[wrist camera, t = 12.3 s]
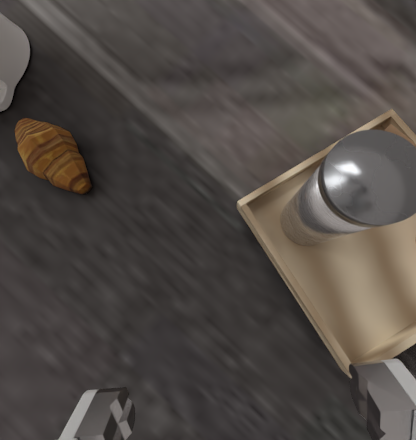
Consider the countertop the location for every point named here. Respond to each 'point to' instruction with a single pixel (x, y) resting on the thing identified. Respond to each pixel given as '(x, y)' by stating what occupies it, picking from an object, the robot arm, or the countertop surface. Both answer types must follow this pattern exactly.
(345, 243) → the wooden tray
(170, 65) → the countertop surface
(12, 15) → the countertop surface
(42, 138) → the croissant
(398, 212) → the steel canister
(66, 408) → the countertop surface
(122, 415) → the robot arm
